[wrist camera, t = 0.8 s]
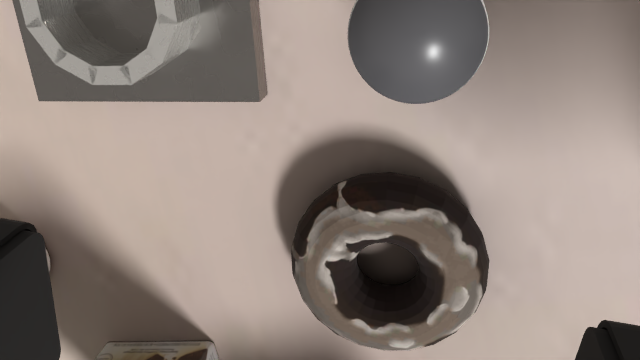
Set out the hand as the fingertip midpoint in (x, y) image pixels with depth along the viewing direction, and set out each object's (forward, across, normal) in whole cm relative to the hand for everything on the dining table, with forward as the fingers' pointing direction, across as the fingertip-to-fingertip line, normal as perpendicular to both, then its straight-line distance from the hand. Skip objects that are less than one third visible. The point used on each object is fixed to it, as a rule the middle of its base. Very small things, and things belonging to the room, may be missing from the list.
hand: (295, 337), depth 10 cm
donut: (+24, -2, +13) cm, 27 cm away
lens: (+24, -2, -2) cm, 24 cm away
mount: (+24, +14, -1) cm, 28 cm away
